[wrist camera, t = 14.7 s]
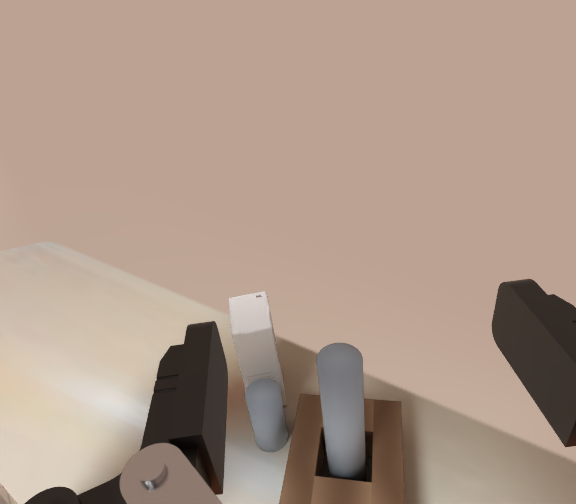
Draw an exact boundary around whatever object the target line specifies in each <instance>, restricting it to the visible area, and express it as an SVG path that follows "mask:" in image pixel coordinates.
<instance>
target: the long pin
mask: <svg viewBox="0 0 576 504" xmlns="http://www.w3.org/2000/svg"><path fill="white" fill-rule="evenodd" d="M316 361H317V370H318V379H319V388H320V398H321V407H322V416H323V425H324V434H325V443H326V452H327V461H328V470H329V478H337V479H346V480H354V481H363V482H366V460H365V425H364V390H363V358H362V355H361V353H360V351H359V350H358V349H357V348H355V347H354V346H352V345H349V344H345V343H334V344H330V345H328V346H326V347H324V348H323V349H321V351H320V352H319V353H318V355H317V360H316Z"/></svg>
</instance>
